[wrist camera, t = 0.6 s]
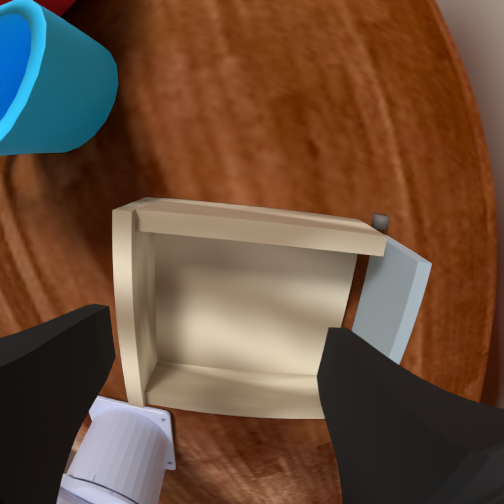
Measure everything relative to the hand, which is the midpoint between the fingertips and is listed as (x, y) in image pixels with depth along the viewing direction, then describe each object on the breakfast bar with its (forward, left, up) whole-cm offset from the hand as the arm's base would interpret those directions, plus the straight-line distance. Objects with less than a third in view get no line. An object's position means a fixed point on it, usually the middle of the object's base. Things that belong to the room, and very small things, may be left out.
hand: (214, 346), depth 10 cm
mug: (+9, +14, -10) cm, 20 cm away
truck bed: (-3, -1, -10) cm, 10 cm away
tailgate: (-3, -9, -9) cm, 13 cm away
